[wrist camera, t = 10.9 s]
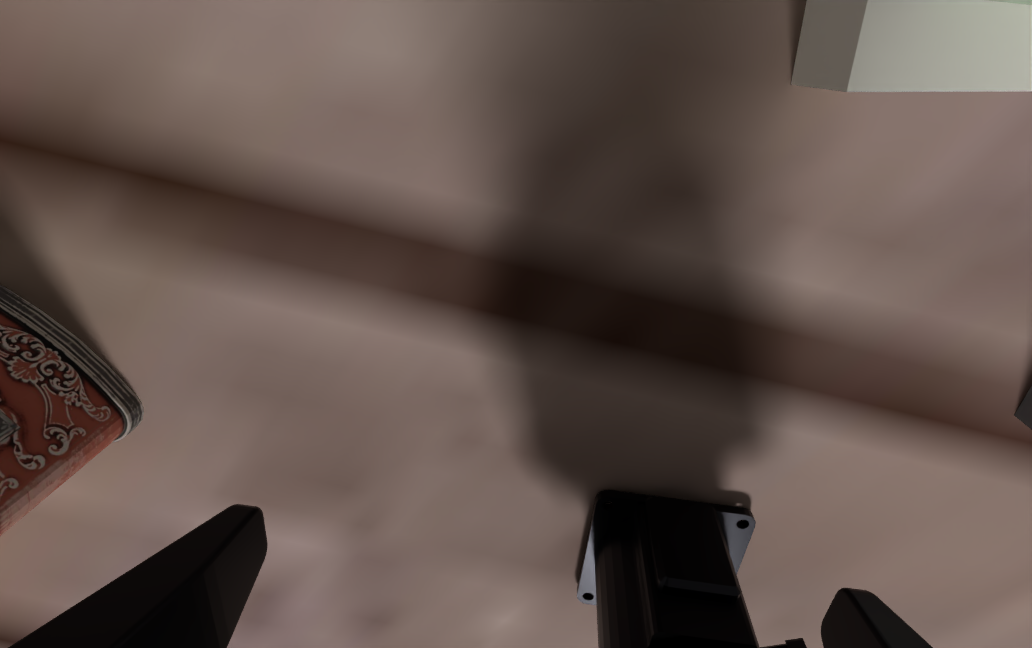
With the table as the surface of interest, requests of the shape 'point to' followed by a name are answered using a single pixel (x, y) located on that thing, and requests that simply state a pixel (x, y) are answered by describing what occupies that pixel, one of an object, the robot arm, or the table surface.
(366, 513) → the table surface
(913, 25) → the base block
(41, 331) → the lighter
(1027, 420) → the charcoal block
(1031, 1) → the sage block
